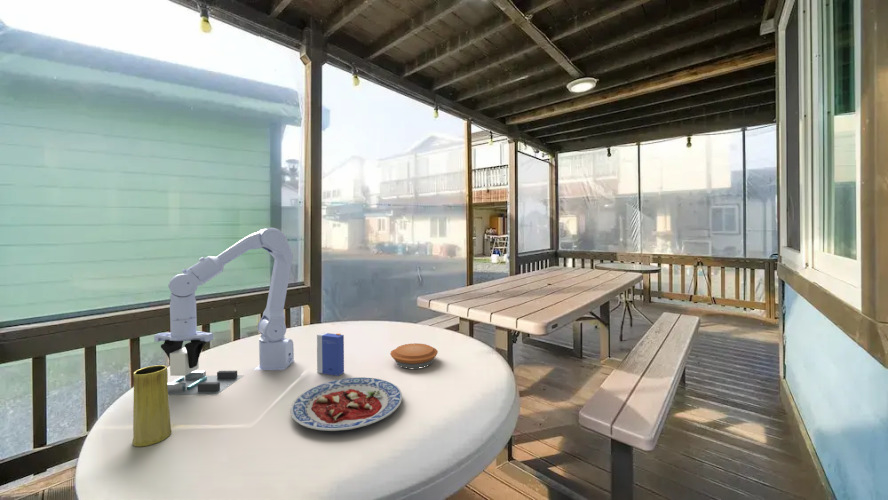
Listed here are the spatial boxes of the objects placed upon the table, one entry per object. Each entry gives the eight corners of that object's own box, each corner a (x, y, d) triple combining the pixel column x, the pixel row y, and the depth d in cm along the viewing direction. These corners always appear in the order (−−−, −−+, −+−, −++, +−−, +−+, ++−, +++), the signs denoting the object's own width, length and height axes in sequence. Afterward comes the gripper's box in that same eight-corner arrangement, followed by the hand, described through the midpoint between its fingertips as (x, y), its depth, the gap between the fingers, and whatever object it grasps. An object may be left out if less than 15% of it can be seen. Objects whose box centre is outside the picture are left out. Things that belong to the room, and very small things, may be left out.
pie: (446, 360, 113) (446, 345, 113) (419, 376, 100) (419, 359, 100) (410, 351, 122) (410, 338, 122) (380, 365, 109) (380, 350, 109)
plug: (198, 368, 95) (198, 347, 95) (185, 375, 90) (184, 353, 90) (184, 368, 95) (183, 347, 95) (170, 375, 90) (169, 353, 90)
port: (209, 377, 97) (209, 370, 97) (186, 391, 88) (186, 384, 88) (184, 377, 97) (184, 371, 97) (158, 392, 88) (158, 384, 88)
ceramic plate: (294, 453, 64) (294, 438, 64) (287, 397, 87) (287, 386, 87) (418, 420, 76) (418, 407, 76) (384, 378, 99) (384, 368, 99)
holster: (237, 377, 98) (237, 370, 97) (217, 391, 89) (216, 384, 88) (219, 377, 97) (219, 370, 97) (197, 391, 88) (197, 384, 88)
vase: (178, 432, 71) (176, 366, 70) (144, 450, 65) (142, 377, 65) (159, 427, 73) (157, 362, 72) (124, 443, 67) (122, 373, 67)
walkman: (344, 372, 103) (343, 333, 102) (338, 376, 100) (338, 336, 100) (323, 369, 105) (322, 331, 105) (316, 372, 103) (316, 333, 102)
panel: (243, 377, 99) (243, 375, 99) (217, 396, 87) (217, 394, 87) (188, 377, 99) (188, 375, 99) (154, 397, 87) (154, 394, 87)
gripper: (143, 321, 88) (145, 372, 88) (200, 321, 88) (201, 372, 89) (165, 315, 95) (166, 362, 95) (217, 315, 95) (218, 362, 96)
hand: (184, 366), depth 93 cm, fingers closed on plug, 4 cm apart
